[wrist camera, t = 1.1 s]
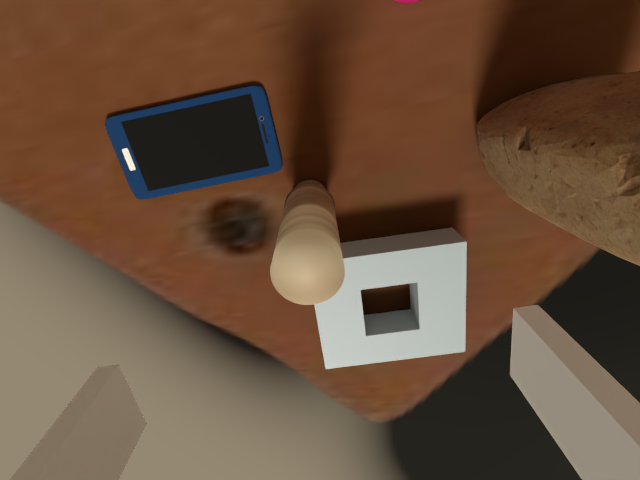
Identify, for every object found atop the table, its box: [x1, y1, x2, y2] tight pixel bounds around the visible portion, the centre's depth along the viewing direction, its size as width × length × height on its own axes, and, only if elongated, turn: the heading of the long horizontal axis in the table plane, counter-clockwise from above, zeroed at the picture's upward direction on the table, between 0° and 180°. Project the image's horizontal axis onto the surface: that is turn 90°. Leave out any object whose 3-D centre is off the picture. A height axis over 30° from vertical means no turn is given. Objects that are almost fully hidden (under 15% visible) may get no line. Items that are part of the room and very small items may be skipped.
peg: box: [270, 179, 345, 305], centre depth 26 cm, size 4×4×15 cm
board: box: [314, 227, 467, 369], centre depth 36 cm, size 12×14×4 cm
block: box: [477, 71, 640, 266], centre depth 22 cm, size 11×8×20 cm
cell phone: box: [105, 85, 283, 199], centre depth 31 cm, size 7×14×1 cm, turn 101°
